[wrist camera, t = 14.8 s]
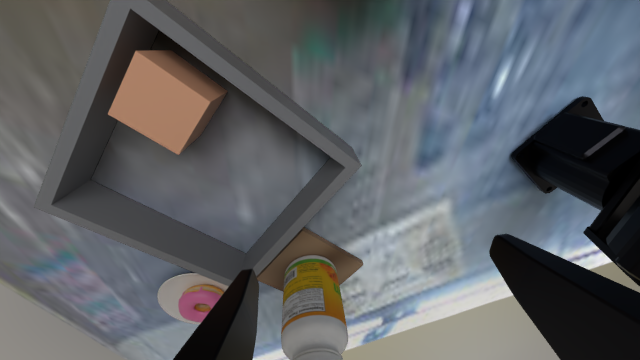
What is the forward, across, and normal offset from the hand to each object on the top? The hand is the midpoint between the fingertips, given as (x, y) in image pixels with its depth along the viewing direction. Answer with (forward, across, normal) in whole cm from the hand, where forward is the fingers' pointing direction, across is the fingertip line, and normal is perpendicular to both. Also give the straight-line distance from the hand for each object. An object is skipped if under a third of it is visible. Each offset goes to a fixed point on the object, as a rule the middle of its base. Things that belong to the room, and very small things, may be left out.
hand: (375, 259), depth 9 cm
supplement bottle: (+12, +4, +14) cm, 18 cm away
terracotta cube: (+12, +10, -5) cm, 16 cm away
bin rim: (+12, +10, 0) cm, 15 cm away
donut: (+13, +16, +14) cm, 25 cm away
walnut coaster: (+12, +4, +13) cm, 18 cm away
